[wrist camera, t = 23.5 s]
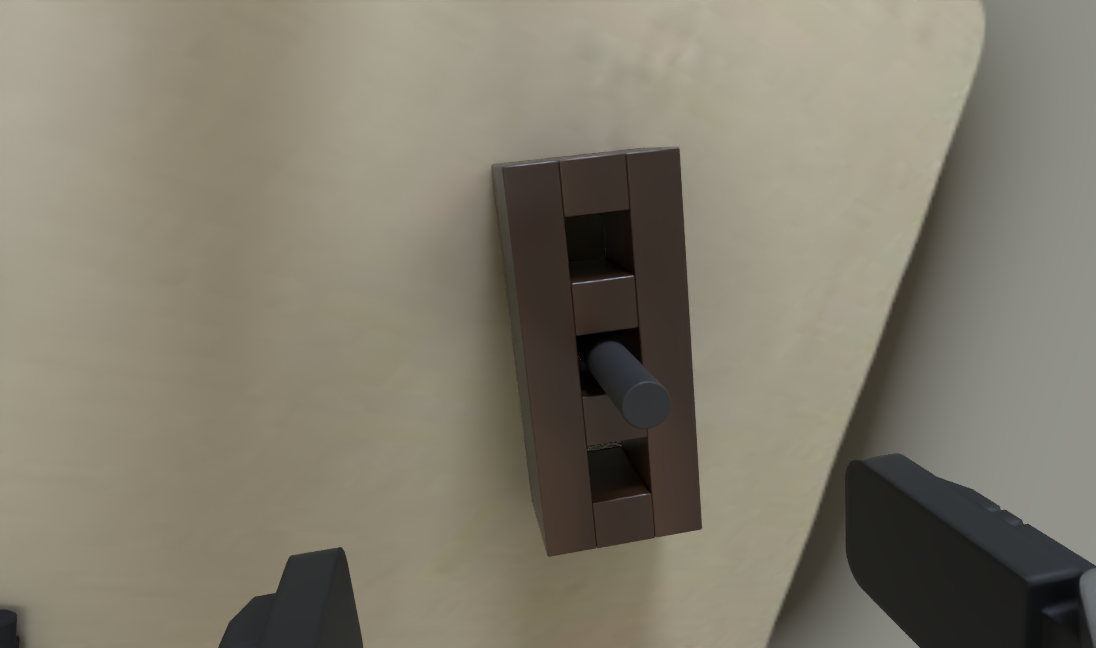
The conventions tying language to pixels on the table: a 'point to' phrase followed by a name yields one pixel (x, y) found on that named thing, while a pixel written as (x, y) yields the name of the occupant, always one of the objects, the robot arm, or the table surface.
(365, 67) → the table surface
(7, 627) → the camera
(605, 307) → the pen stand
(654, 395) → the stylus
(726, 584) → the table surface
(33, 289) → the table surface
